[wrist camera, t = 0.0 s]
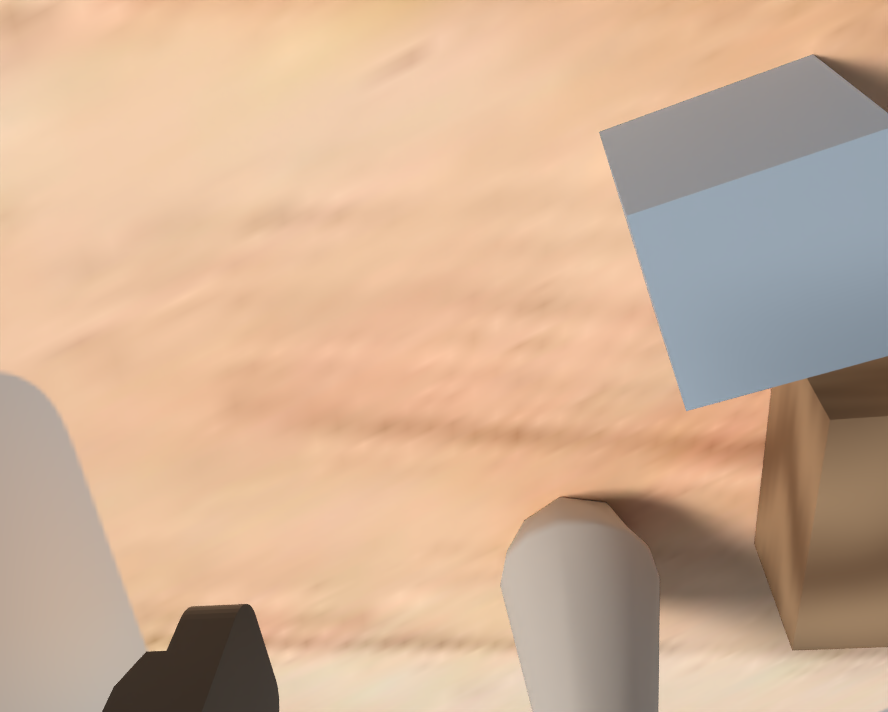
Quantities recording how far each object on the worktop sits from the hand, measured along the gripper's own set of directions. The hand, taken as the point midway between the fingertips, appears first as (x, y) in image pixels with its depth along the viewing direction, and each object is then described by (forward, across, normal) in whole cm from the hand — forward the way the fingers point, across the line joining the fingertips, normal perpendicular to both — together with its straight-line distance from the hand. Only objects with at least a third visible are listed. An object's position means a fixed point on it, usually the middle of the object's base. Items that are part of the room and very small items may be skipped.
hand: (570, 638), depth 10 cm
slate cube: (+17, -6, 0) cm, 18 cm away
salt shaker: (+18, -1, +14) cm, 23 cm away
